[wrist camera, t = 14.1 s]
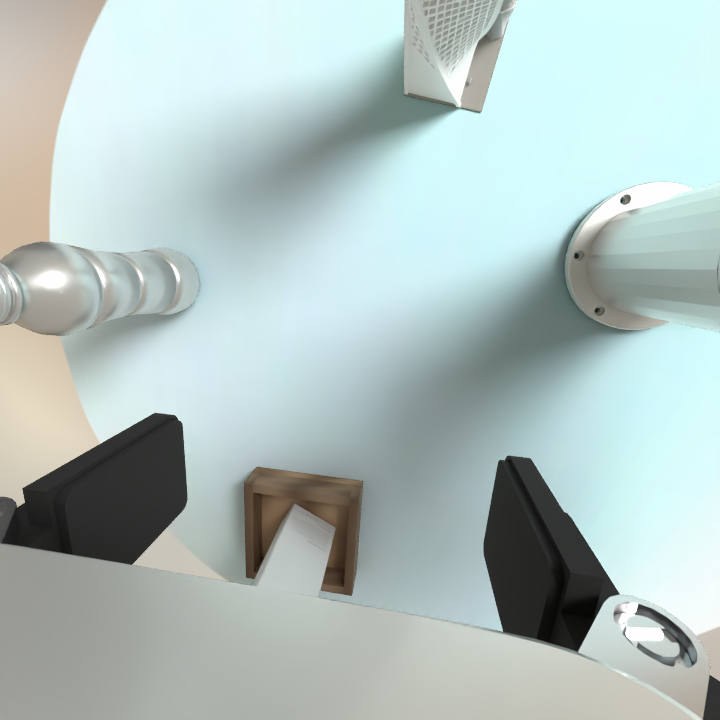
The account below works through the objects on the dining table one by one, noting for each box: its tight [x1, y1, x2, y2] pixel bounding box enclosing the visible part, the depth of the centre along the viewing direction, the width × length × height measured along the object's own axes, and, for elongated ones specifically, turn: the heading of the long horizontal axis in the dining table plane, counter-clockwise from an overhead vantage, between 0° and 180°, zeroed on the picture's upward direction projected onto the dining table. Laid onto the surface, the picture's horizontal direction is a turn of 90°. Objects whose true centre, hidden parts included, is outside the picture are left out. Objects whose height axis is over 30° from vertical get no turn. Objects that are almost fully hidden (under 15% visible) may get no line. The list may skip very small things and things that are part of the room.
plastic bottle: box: [0, 242, 200, 336], centre depth 30 cm, size 6×7×20 cm
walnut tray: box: [244, 467, 363, 596], centre depth 43 cm, size 13×13×4 cm
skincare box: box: [252, 503, 336, 597], centre depth 38 cm, size 6×4×12 cm
